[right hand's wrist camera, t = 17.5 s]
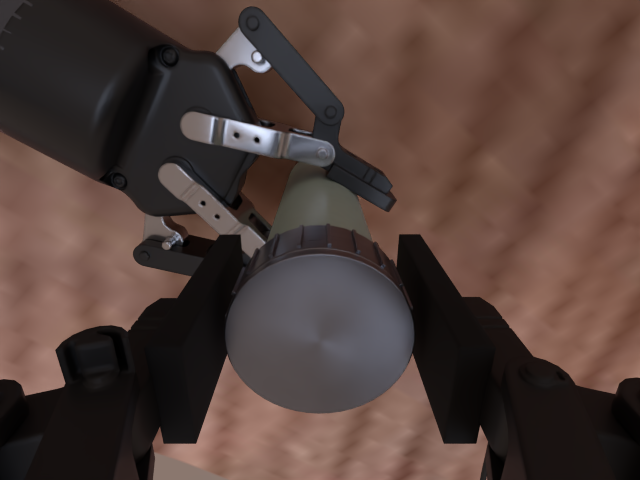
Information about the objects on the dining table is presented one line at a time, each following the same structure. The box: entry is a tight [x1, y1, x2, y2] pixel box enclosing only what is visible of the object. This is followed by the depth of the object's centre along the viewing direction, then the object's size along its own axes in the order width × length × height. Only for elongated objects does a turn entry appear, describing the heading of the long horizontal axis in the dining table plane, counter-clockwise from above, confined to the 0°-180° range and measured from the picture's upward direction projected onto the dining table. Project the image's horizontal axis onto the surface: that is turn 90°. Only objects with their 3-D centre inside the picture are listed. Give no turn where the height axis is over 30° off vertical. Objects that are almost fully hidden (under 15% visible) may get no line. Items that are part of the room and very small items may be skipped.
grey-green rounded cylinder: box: [267, 162, 373, 242], centre depth 19 cm, size 4×4×16 cm
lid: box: [224, 223, 416, 413], centre depth 11 cm, size 5×5×2 cm
